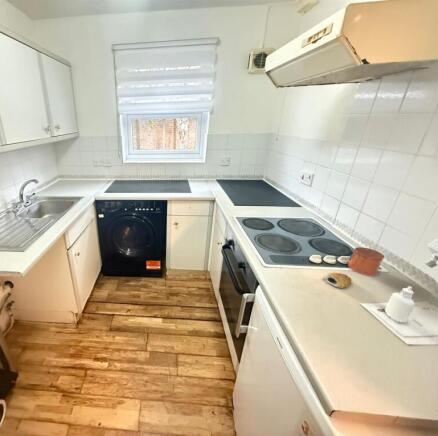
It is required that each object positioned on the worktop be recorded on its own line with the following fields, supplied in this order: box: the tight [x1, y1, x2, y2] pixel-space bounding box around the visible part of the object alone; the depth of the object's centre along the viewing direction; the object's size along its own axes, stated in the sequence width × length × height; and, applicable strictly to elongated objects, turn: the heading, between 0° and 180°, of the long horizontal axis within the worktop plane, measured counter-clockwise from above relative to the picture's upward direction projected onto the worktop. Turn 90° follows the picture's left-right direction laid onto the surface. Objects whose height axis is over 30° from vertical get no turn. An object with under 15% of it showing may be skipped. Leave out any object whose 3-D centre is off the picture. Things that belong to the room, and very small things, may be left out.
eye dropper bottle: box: [384, 285, 416, 324], centre depth 75 cm, size 4×6×12 cm
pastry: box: [323, 272, 352, 289], centre depth 93 cm, size 9×7×4 cm
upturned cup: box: [347, 246, 385, 277], centre depth 100 cm, size 10×10×8 cm
